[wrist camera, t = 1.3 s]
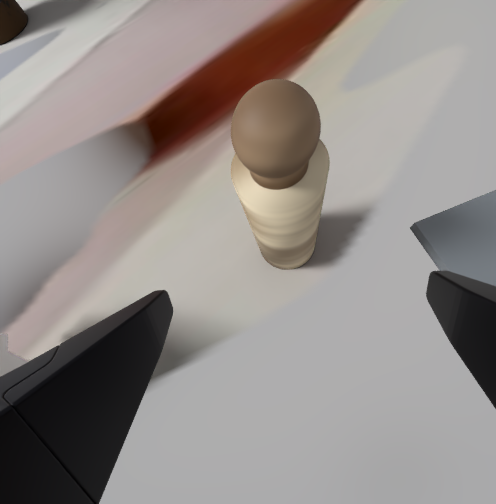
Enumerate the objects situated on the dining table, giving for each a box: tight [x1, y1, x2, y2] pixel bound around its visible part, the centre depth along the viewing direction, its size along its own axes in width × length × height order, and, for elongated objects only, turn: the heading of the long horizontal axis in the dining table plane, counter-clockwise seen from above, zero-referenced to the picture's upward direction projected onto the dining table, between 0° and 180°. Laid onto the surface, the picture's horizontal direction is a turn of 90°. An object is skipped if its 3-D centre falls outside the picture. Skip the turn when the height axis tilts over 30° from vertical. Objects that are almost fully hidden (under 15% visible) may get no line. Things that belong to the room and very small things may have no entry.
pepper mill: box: [231, 79, 329, 270], centre depth 16 cm, size 5×5×15 cm
